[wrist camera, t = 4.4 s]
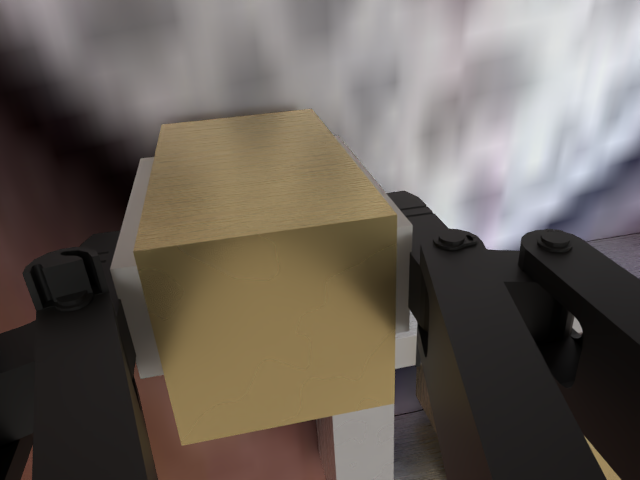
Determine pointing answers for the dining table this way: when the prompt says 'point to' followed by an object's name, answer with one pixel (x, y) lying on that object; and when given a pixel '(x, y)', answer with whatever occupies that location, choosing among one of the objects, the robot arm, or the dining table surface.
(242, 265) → the yellow rectangular block
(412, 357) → the rail
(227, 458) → the dining table surface
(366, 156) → the dining table surface
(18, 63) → the dining table surface
